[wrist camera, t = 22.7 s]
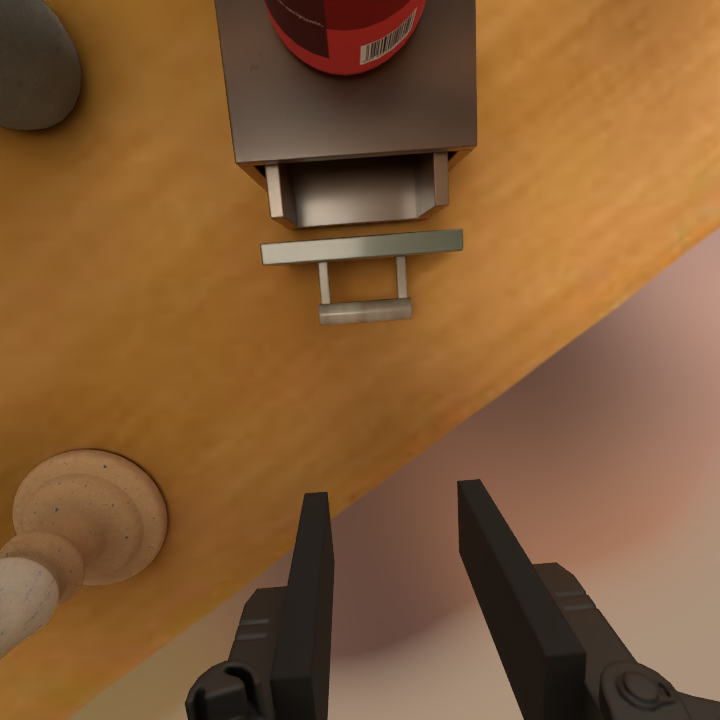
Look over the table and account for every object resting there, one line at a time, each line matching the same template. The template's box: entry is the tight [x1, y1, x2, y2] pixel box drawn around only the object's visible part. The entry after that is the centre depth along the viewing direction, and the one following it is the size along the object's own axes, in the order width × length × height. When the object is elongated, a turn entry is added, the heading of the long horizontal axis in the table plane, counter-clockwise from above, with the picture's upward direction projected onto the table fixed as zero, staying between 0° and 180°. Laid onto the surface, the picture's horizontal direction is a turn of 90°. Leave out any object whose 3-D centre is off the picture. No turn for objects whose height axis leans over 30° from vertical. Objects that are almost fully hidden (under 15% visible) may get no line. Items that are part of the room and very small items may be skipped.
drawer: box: [260, 151, 463, 326], centre depth 27 cm, size 18×11×8 cm, turn 4°
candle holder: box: [0, 449, 168, 659], centre depth 27 cm, size 12×12×20 cm
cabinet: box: [214, 0, 477, 191], centre depth 25 cm, size 15×13×10 cm
